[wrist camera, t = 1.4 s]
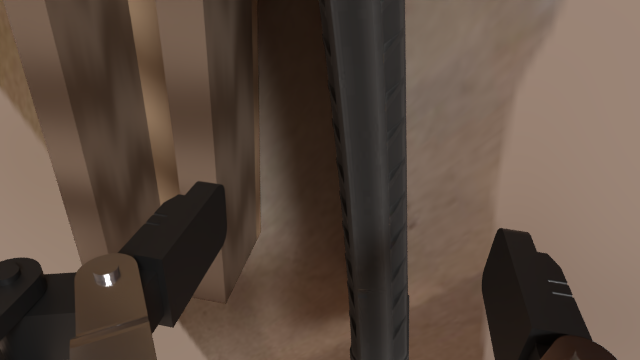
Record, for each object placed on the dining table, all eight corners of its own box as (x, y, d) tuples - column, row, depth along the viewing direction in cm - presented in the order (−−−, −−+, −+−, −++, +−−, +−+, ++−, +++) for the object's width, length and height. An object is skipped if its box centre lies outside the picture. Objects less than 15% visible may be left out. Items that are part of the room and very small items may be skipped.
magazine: (409, 428, 25) (384, -510, 4) (353, 421, 26) (64, -404, 4) (409, 203, 37) (403, -347, 15) (370, 202, 37) (313, -324, 16)
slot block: (67, -208, 20) (-76, -263, 14) (254, -201, 19) (183, -258, 13) (145, 213, 33) (85, 277, 27) (260, 231, 31) (225, 303, 25)
